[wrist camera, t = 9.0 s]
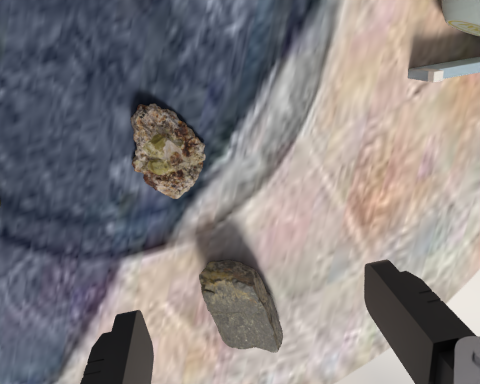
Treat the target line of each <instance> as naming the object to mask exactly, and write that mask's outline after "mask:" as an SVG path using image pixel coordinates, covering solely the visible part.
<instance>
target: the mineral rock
mask: <svg viewBox="0 0 480 384" xmlns="http://www.w3.org/2000/svg"><path fill="white" fill-rule="evenodd" d="M130 120H131V123H132V127H133V128H134V141H135V142H136V143H137V144H136V145H137V149H136V150H135V155H136V156H135V157H133V161H132V165H133V167H134V168H135V169H134V171H136V172H142V173H143V174H144V177H143V178H144V180H145V182H146V183H147V184H148V185H150V186H151V187H153V188H154V189H155V190H158V191H160V192H162V193H163V194H165V195H168V196H170V197H172V198H174V199H177V198H179V197H180V196H181V195H182V194H183V193H184V192H188V190H189V189H190V186H193V185H194V183H195V180H197V178H198V176H199V173H200V172H201V169H202V167H203V160H205V157H206V156H205V154H204V147H205V145H204V143H202V142H201V141H200V140H199V139H198V137H196V136H195V134H194V132H193V131H192V129H190V128H189V127H187V125H186V123H184V122H182V121H180V120H179V118H178V117H177V114H176V113H175V112H173V111H170V110H169V109H161V108H160V107H159V106H157V105H156V104H150V105H149V106H145V105H142V104H141V105H140V104H139V105H138V108H137V111H136V112H135V113H134V115H133V116H132V117H131V119H130Z"/></svg>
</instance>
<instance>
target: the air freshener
mask: <svg viewBox="0 0 480 384" xmlns="http://www.w3.org/2000/svg"><path fill="white" fill-rule="evenodd" d="M442 10H443V15H444V18H445V21H446V23H447V24H448V25H450V26H452V27H454V28H456V29H458V30H461V31H463V32H466V33H469V34H472V35H476V36H479V37H480V0H442Z"/></svg>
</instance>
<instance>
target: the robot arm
mask: <svg viewBox="0 0 480 384" xmlns="http://www.w3.org/2000/svg"><path fill="white" fill-rule="evenodd" d="M364 298H365V303H366V307H367V310H368V312H369V314H370V316H371V317H372V319H373V320H374V322H375V323H376V325H377V326H378V328H379V329H380V331H381V332H382V334H383V335H384V337H385V338H386V340H387V341H388V343H389V345H390V346H391V348H392V349H393V351H394V352H395V354H396V355H397V357H398V358H399V360H400V361H401V363H402V364H403V366H404V367H405V369H406V370H407V372H408V373H409V375H410V376H411V378H412V380H413V381H414V383H415V384H480V337H478V336H476V335H475V334H474V333H473V332H472V331H471V330H470V329H469V328H468V327H467V326H466V325H465V324H464V323H463V322H462V321H461V320H460V319H459V318H458V317H457V316H456V314H455V313H454V312H453V311H452V310H450V309H449V307H448V306H447V305H446V304H445V303H444V302H443V301H441V300H440V298H439V297H438V296H437V295H436V294H435V293H434V292H432V290H431V289H430V288H429V287H428V286H427V285H426V284H425V283H424V281H423V280H422V279H420V278H418V277H417V276H415V275H413V274H411V273H409V272H408V271H403V272H399V271H398V269H397V268H396V267H395V266H394V265H393V264H392V263H391V262H390V261H389V260H382V261H377V262H372V263H368V264H366V265H365V283H364ZM153 361H154V353H153V345H152V341H151V338H150V335H149V332H148V330H147V327H146V324H145V321H144V318H143V315H142V313H141V311H140V310H136V311H132V312H127V313H122V314H118V315H116V317H115V320H114V324H113V328H112V331H111V332H108V333H103V334H102V335H101V336H100V338H99V339H98V340H97V342H96V343H95V344H94V346H93V347H92V349H91V352H90V355H89V359H88V362H87V363H88V364H87V365H86V368H85V371H84V374H83V375H84V377H83V378H82V380H81V383H80V384H151V378H152V370H153Z"/></svg>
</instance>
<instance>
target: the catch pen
mask: <svg viewBox="0 0 480 384" xmlns="http://www.w3.org/2000/svg"><path fill="white" fill-rule="evenodd" d="M479 72H480V57H474V58H468V59H462V60H456V61H451V62H445V63H439V64H433V65H427V66H422V67H416V68H410V69H409V70H408V78H410V79H416V80H422V81H428V82H438V81H443V79H444V78H450V77H456V76H462V75H467V74H473V73H479Z"/></svg>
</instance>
